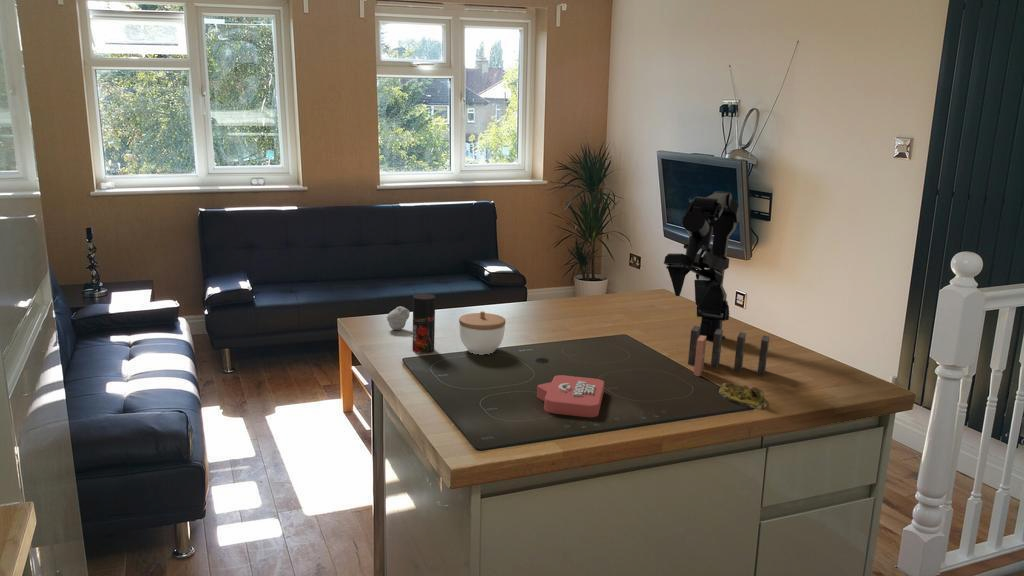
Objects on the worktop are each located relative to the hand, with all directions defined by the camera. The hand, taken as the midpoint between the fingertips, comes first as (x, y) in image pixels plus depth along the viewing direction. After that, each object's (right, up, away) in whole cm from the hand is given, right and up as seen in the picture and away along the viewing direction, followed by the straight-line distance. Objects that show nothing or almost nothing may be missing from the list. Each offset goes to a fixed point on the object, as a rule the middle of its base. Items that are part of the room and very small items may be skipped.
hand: (687, 300), depth 203 cm
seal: (+10, -24, -16) cm, 30 cm away
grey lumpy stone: (-79, -9, +27) cm, 84 cm away
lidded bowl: (-54, -14, +11) cm, 57 cm away
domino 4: (+14, -18, +4) cm, 24 cm away
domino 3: (+9, -18, +7) cm, 21 cm away
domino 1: (+3, -17, +9) cm, 19 cm away
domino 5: (+20, -19, +2) cm, 28 cm away
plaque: (-33, -23, -22) cm, 46 cm away
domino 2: (+3, -19, 0) cm, 19 cm away
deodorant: (-70, -14, +10) cm, 72 cm away
